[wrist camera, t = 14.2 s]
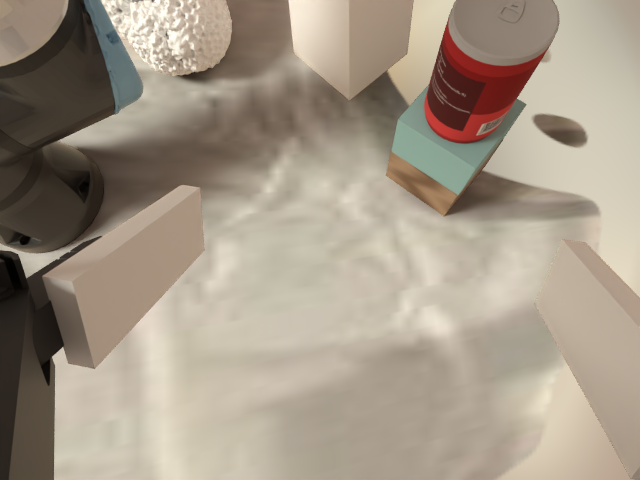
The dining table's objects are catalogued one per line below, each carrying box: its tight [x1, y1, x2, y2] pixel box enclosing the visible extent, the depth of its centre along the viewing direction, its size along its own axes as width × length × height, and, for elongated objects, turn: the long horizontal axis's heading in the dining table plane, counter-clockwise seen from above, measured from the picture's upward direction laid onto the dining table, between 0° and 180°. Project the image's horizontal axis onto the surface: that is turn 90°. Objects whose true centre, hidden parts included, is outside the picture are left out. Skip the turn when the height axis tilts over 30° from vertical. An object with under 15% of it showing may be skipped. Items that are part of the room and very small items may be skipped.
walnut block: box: [386, 140, 503, 216], centre depth 47 cm, size 9×9×6 cm
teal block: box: [392, 85, 526, 195], centre depth 41 cm, size 9×9×6 cm
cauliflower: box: [101, 0, 232, 76], centre depth 53 cm, size 20×18×16 cm
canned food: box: [424, 0, 559, 143], centre depth 33 cm, size 8×8×11 cm
